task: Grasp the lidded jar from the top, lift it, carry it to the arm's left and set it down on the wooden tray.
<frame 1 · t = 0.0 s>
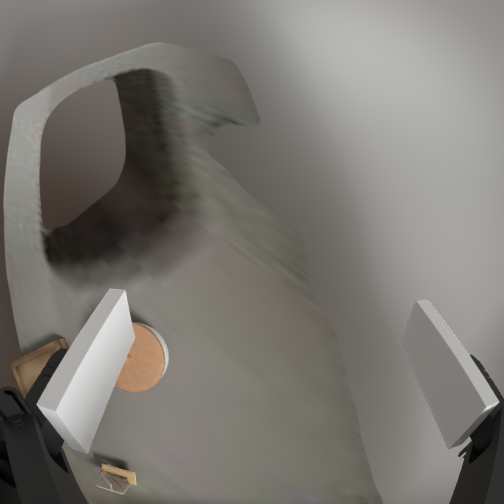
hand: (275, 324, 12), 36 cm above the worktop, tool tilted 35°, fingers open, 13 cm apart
architectural model: (122, 469, 41), on the worktop
lidded jar: (146, 351, 46), on the worktop
wooden tray: (54, 388, 43), on the worktop
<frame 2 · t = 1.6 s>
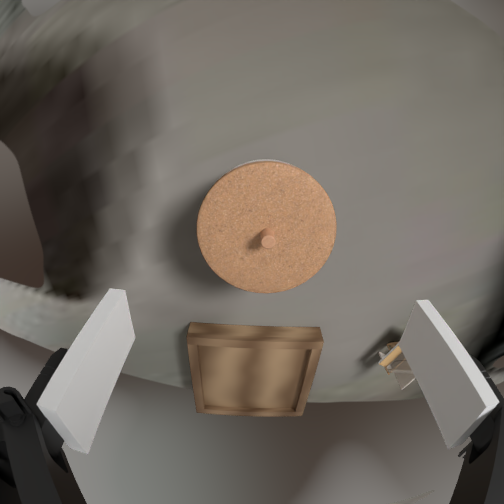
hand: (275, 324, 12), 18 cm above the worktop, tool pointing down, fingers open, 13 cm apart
architectural model: (393, 337, 38), on the worktop
lidded jar: (263, 204, 29), on the worktop
wooden tray: (252, 369, 39), on the worktop
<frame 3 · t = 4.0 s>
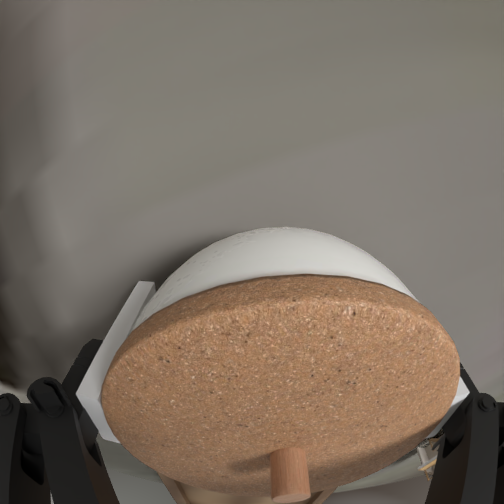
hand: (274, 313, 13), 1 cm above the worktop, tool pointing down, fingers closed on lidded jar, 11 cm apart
architectural model: (437, 430, 23), on the worktop
lidded jar: (273, 299, 14), on the worktop, touching gripper
wooden tray: (250, 478, 24), on the worktop
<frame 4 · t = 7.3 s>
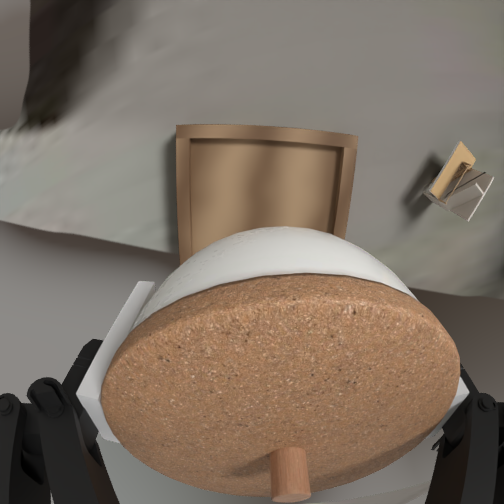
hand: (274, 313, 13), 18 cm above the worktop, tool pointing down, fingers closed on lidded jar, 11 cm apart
architectural model: (436, 176, 28), on the worktop
lidded jar: (273, 299, 14), point 17 cm above the worktop, touching gripper
wooden tray: (262, 206, 30), on the worktop
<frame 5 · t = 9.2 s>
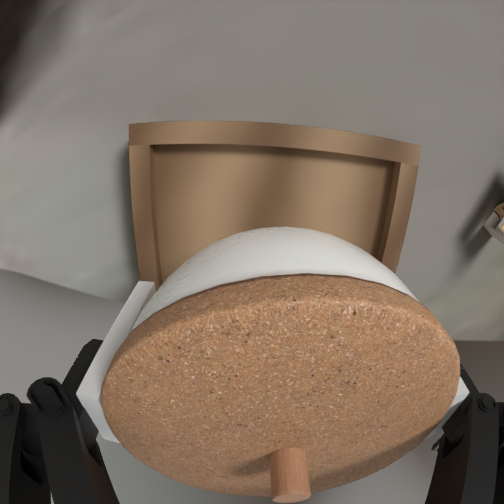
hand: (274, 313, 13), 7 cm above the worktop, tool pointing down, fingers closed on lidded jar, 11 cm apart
architectural model: (498, 202, 18), on the worktop
lidded jar: (273, 299, 14), point 6 cm above the worktop, touching gripper
wooden tray: (268, 247, 20), on the worktop
when the fingers open (4 cm above the worktop, at t = 10.9 s): lidded jar stays where it is, resting on wooden tray.
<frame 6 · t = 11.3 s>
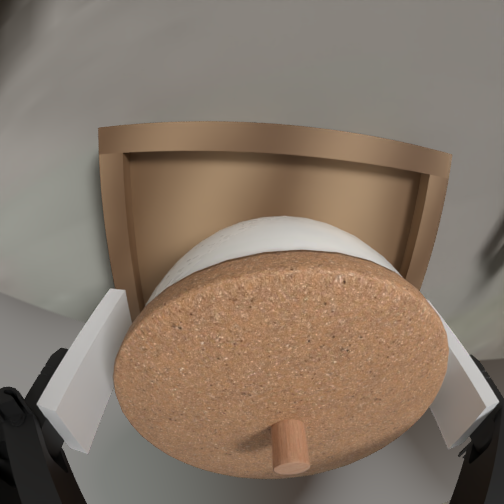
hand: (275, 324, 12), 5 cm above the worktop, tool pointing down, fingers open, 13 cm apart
lidded jar: (273, 288, 15), point 2 cm above the worktop, touching wooden tray
wooden tray: (269, 271, 17), on the worktop
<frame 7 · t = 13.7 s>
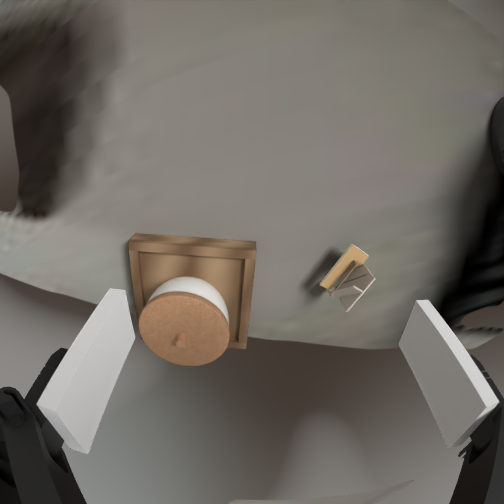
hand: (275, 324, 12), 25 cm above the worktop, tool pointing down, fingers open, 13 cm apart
architectural model: (338, 264, 41), on the worktop
lidded jar: (192, 296, 40), point 2 cm above the worktop, touching wooden tray
wooden tray: (193, 290, 41), on the worktop
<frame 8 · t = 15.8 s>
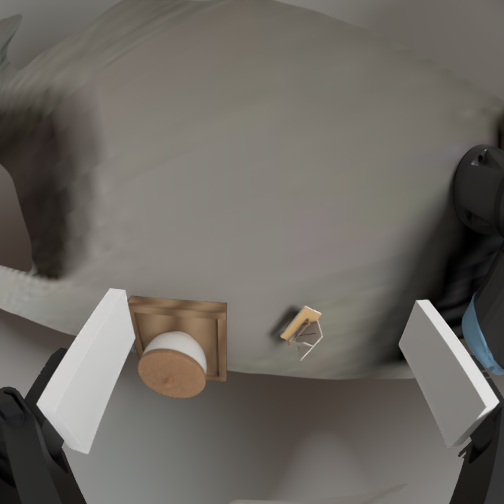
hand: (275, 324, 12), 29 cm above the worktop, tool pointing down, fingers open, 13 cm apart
architectural model: (299, 316, 48), on the worktop
lidded jar: (179, 343, 48), point 2 cm above the worktop, touching wooden tray
wooden tray: (181, 337, 50), on the worktop
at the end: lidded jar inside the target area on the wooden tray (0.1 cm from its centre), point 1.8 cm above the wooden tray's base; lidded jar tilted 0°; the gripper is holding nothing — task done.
